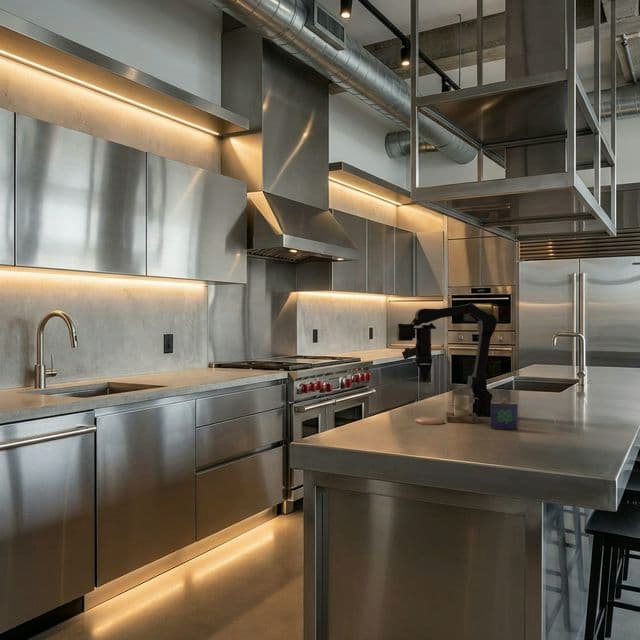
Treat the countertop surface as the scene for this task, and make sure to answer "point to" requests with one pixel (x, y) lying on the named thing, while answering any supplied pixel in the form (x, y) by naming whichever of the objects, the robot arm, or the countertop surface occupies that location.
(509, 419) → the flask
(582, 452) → the countertop surface
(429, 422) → the terracotta plate
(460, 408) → the maple block
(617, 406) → the countertop surface
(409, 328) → the robot arm
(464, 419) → the pocket board
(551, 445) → the countertop surface
